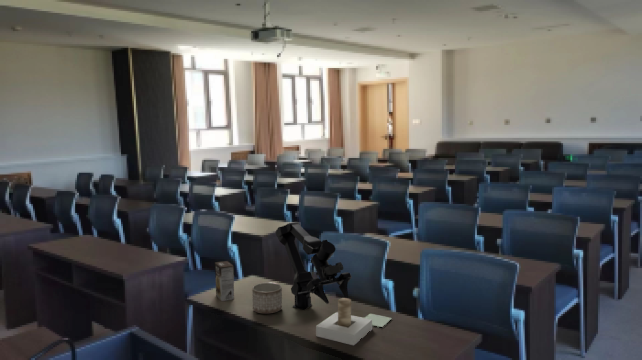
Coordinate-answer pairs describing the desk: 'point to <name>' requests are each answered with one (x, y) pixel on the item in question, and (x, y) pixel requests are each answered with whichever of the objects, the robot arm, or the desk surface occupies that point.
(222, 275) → the coffee box
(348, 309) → the wooden peg
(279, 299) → the planter
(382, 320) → the green pad
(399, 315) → the desk surface
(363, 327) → the pocket block
